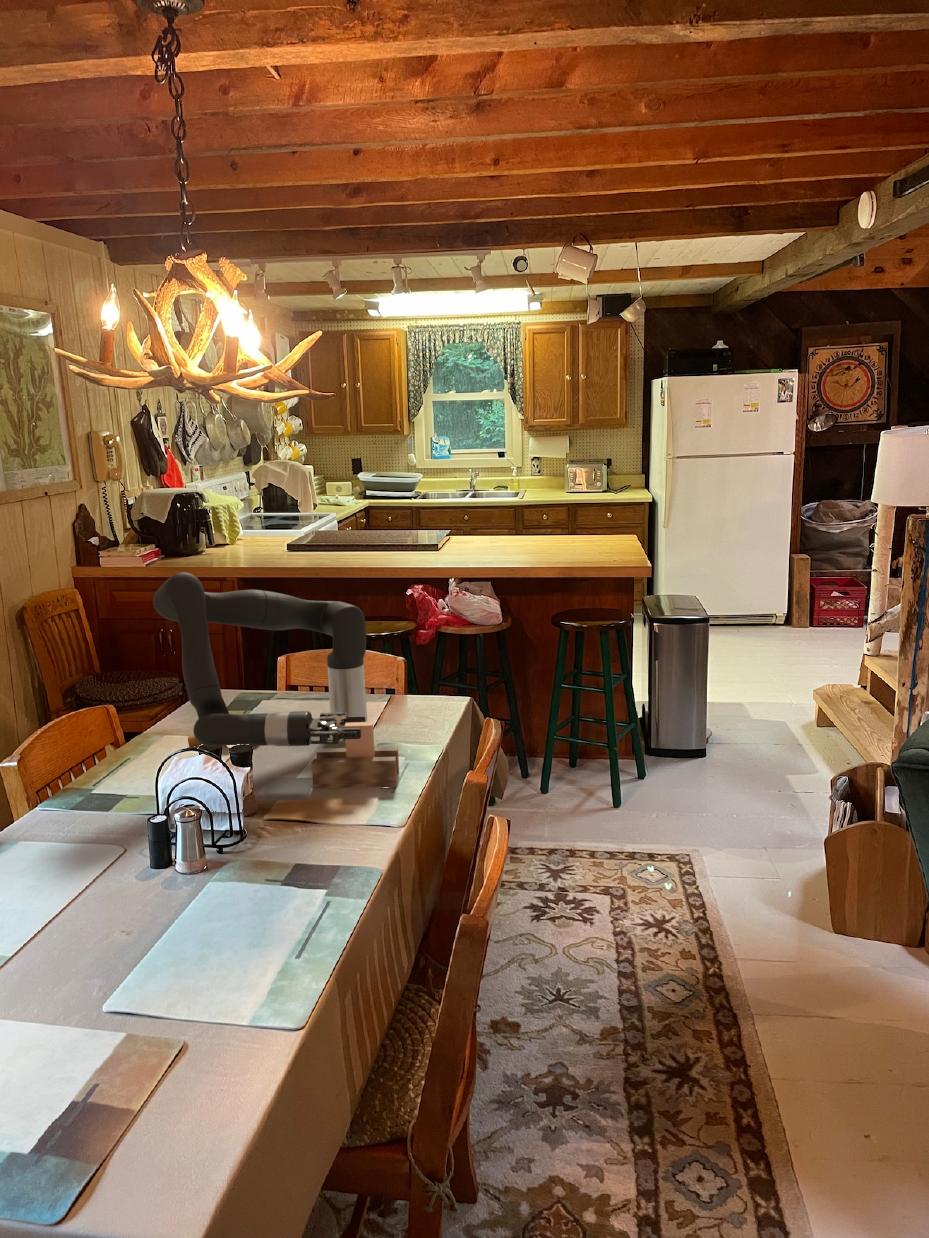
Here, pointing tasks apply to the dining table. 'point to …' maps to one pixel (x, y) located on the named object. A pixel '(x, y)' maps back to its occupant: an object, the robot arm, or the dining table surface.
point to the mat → (288, 789)
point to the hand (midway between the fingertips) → (363, 726)
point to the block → (361, 741)
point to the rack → (355, 769)
